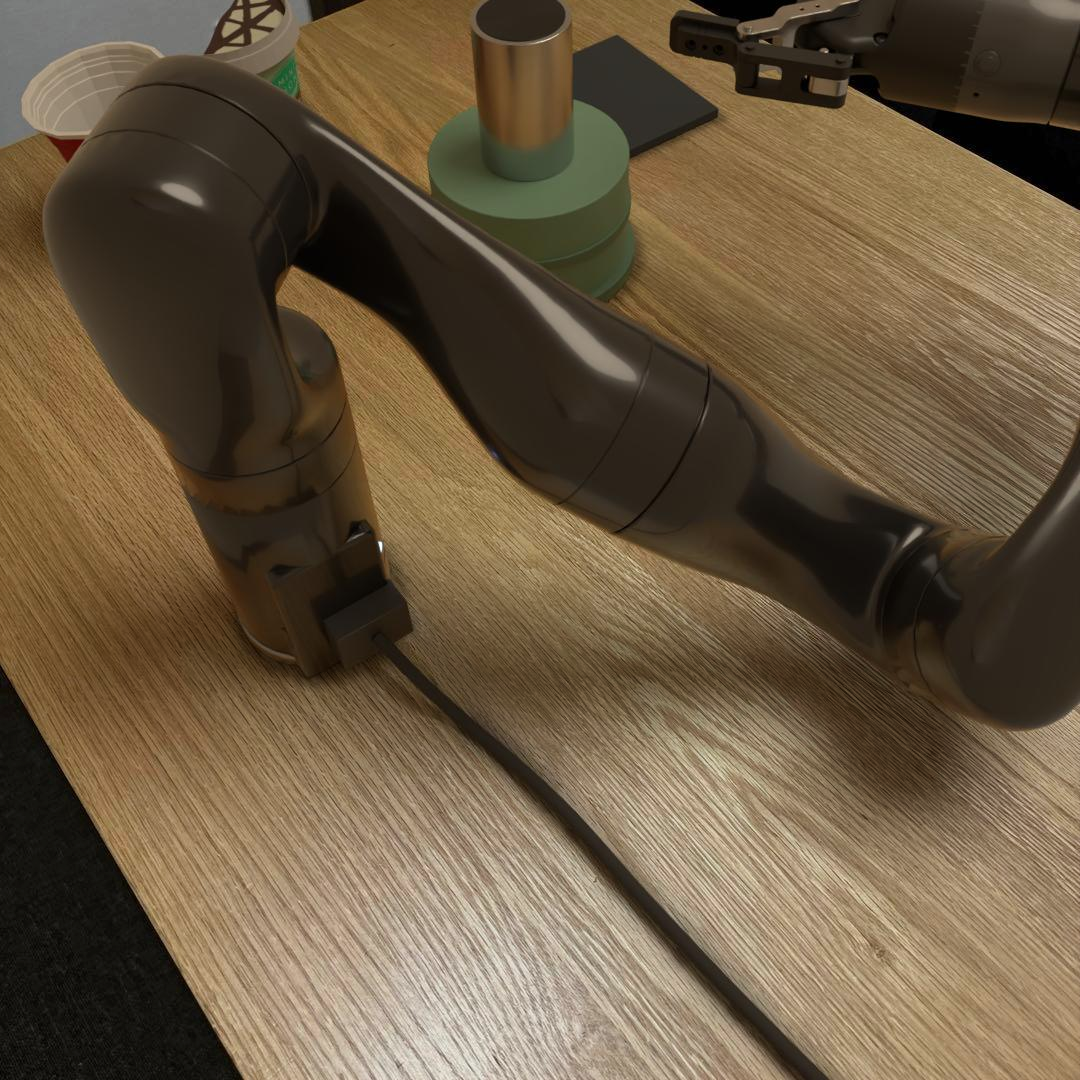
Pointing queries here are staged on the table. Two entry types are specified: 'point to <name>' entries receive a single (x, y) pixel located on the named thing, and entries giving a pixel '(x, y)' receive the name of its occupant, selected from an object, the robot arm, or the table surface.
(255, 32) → the food container
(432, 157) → the sage green puck
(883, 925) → the table surface
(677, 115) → the mat
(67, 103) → the plastic cup
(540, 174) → the steel cup
